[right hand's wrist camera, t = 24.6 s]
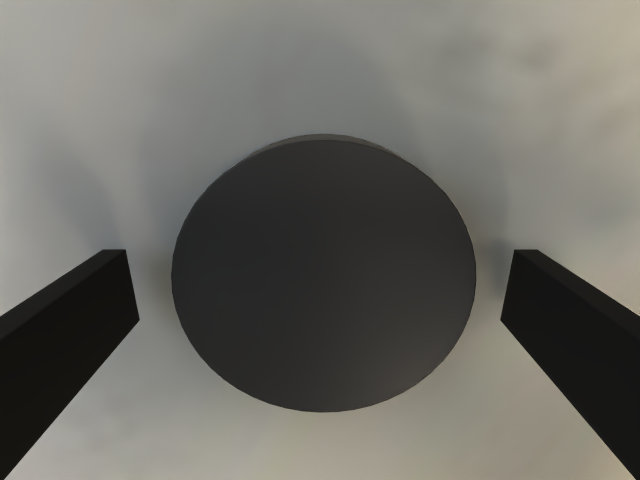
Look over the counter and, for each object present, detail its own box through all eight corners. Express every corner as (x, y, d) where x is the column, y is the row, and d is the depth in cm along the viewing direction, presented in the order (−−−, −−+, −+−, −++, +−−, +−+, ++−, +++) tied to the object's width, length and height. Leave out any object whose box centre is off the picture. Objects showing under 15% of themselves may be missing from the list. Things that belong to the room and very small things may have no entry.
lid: (245, 83, 11) (229, 77, 9) (503, 203, 12) (539, 222, 10) (164, 322, 14) (137, 359, 12) (378, 399, 15) (387, 444, 13)
